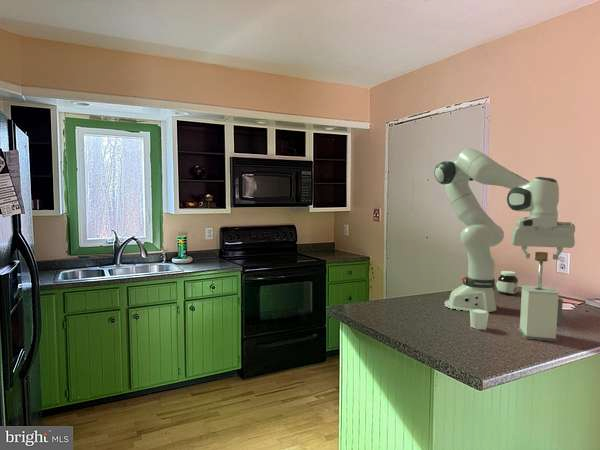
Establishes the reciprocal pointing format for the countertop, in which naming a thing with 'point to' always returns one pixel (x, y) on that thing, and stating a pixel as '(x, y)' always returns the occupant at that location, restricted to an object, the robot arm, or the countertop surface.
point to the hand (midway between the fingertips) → (541, 258)
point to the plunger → (540, 265)
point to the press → (540, 313)
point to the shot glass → (478, 318)
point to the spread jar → (507, 283)
